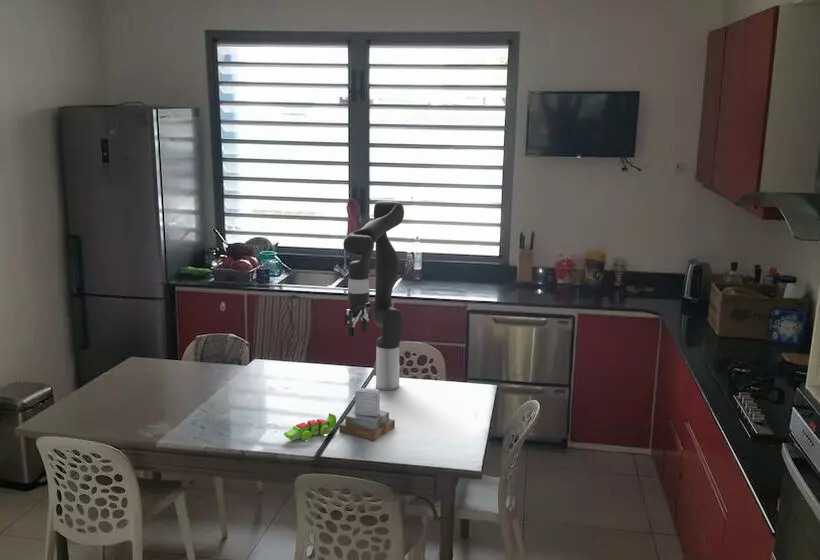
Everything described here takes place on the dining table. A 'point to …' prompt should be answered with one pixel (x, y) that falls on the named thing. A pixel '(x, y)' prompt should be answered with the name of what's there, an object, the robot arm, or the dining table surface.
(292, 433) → the toy crocodile
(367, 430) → the brown gray stepped block
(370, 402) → the medicine box
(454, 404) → the dining table surface
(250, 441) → the dining table surface
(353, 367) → the dining table surface
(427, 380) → the dining table surface
